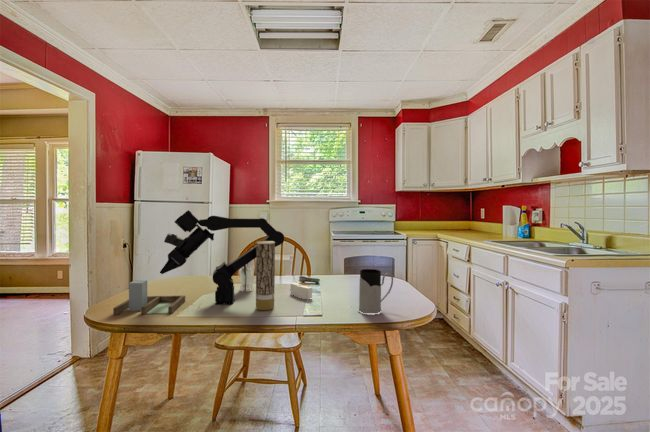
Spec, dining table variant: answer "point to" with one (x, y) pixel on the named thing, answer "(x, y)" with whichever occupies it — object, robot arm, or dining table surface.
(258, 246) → the bark textured cylinder
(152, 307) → the comb rack
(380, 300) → the grey mug
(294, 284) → the white rectangular block
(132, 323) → the dining table surface
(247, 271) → the white streaked block
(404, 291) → the dining table surface
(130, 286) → the tall grey square prism
